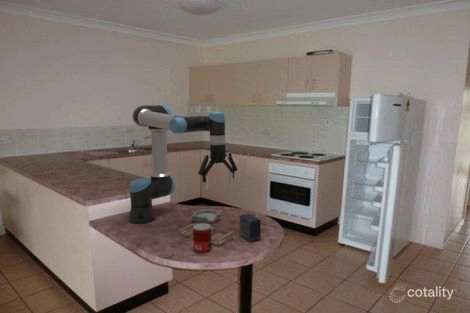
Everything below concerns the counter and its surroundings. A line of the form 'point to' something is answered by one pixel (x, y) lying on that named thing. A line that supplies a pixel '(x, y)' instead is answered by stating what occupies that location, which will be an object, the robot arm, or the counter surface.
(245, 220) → the small box
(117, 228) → the counter surface
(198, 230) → the canned food
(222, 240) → the notched rail
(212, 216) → the dish
